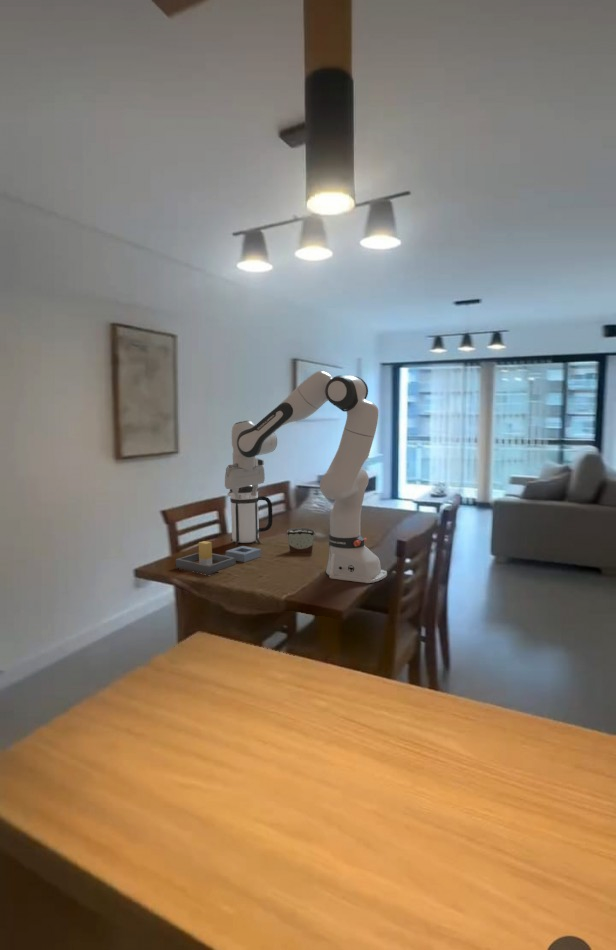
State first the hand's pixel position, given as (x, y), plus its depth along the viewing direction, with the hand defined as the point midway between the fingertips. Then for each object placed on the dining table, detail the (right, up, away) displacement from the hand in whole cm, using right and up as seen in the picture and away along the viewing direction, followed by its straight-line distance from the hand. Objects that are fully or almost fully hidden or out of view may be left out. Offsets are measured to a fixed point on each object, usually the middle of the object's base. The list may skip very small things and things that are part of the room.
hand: (246, 497), depth 217 cm
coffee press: (-3, -22, +32) cm, 39 cm away
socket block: (-1, -25, +5) cm, 26 cm away
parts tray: (-15, -27, -5) cm, 31 cm away
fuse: (-15, -26, -6) cm, 30 cm away
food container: (+22, -24, +15) cm, 36 cm away
